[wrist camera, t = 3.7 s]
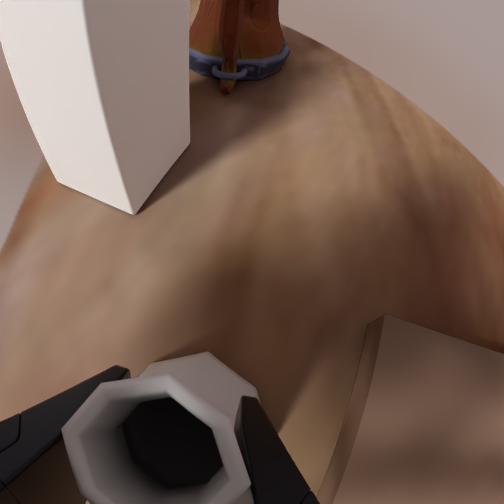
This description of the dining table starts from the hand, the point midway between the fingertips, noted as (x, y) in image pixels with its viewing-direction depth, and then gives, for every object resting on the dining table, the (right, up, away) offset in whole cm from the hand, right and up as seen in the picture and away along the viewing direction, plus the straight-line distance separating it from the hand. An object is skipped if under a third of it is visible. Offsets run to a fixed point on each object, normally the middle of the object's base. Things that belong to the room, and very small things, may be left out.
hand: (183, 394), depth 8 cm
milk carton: (-7, +10, +12) cm, 17 cm away
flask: (-1, -4, +5) cm, 7 cm away
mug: (0, +21, +19) cm, 29 cm away
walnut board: (+13, -9, +4) cm, 17 cm away
